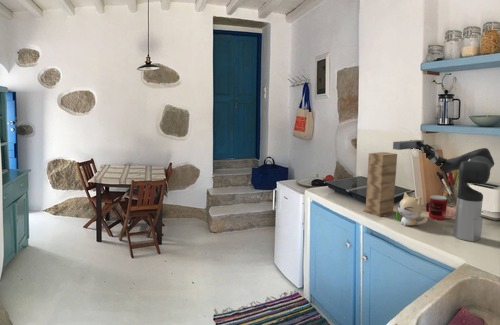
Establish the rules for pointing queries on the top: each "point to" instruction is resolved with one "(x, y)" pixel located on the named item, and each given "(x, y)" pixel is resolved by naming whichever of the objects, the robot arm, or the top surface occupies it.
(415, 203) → the kitten
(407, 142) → the block
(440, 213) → the canned food
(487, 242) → the top surface
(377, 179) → the stand
